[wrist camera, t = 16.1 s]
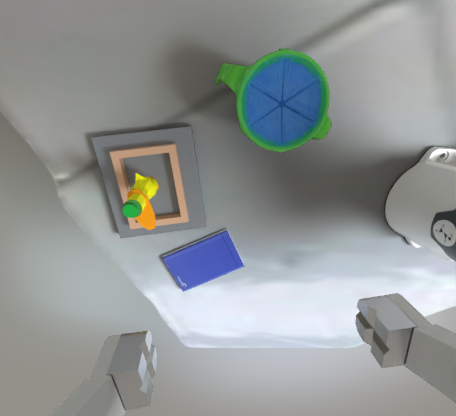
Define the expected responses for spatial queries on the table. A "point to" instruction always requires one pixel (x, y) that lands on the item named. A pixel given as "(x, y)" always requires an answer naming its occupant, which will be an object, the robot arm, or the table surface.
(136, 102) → the table surface
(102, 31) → the table surface
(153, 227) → the toy figure
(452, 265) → the table surface
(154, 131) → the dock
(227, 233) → the hard drive
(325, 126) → the snack cup
